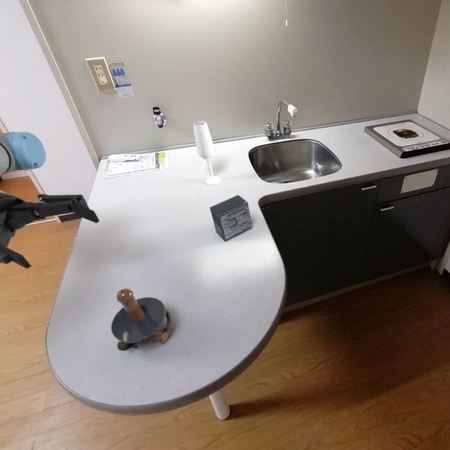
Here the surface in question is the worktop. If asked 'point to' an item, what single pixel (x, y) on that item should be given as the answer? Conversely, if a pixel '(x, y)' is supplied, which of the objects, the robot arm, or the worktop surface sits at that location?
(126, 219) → the worktop surface
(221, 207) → the small box
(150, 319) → the lid
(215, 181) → the champagne flute
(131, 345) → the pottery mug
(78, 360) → the worktop surface
